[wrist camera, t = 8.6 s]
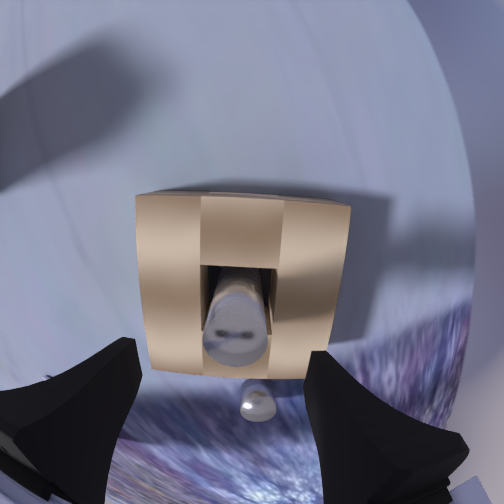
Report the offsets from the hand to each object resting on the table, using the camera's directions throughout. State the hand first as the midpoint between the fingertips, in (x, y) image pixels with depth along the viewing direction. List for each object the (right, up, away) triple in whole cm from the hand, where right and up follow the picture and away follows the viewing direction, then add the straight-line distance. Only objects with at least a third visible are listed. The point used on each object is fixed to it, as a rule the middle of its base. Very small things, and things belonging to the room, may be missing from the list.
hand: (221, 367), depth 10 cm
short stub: (+2, -8, +13) cm, 15 cm away
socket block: (0, +3, +9) cm, 10 cm away
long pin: (0, +3, +9) cm, 10 cm away
